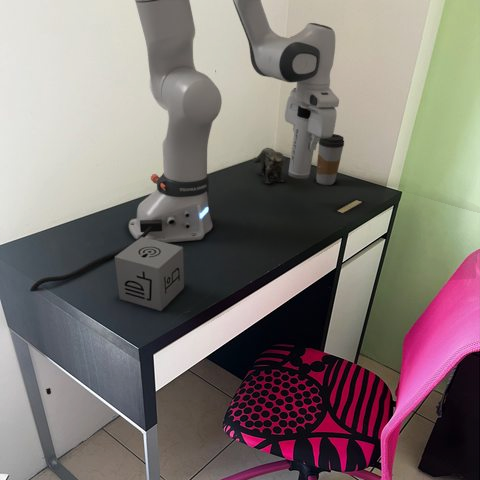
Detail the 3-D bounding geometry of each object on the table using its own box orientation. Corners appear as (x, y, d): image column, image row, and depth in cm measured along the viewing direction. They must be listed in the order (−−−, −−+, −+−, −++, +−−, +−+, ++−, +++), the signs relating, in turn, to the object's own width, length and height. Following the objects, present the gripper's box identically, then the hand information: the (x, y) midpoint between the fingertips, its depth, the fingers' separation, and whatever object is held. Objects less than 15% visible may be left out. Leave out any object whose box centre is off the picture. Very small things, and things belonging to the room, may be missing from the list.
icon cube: (161, 311, 98) (158, 268, 93) (119, 298, 101) (114, 256, 96) (184, 287, 106) (183, 247, 100) (145, 277, 109) (141, 236, 103)
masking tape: (342, 213, 144) (342, 212, 144) (337, 211, 145) (337, 210, 145) (362, 202, 152) (362, 201, 151) (356, 200, 153) (356, 200, 152)
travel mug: (308, 173, 146) (321, 102, 134) (309, 180, 140) (321, 107, 129) (288, 170, 146) (298, 99, 134) (287, 177, 140) (298, 104, 129)
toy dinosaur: (251, 168, 173) (253, 135, 166) (273, 167, 174) (276, 135, 168) (264, 190, 155) (267, 155, 149) (289, 190, 157) (293, 155, 150)
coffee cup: (309, 178, 167) (315, 133, 158) (330, 177, 169) (338, 132, 160) (319, 187, 161) (326, 141, 152) (341, 185, 163) (349, 140, 154)
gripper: (282, 86, 136) (277, 136, 144) (323, 102, 122) (314, 157, 130) (301, 86, 139) (295, 135, 147) (343, 101, 124) (334, 155, 132)
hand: (304, 146), depth 138 cm, fingers closed on travel mug, 6 cm apart
